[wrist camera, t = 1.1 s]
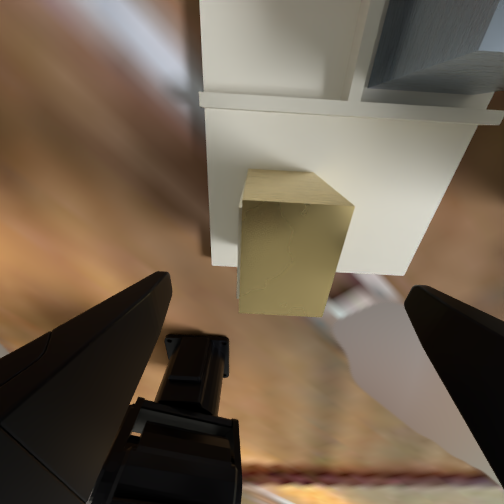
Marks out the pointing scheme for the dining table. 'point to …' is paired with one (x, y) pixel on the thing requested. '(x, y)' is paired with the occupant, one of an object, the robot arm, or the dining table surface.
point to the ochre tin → (288, 242)
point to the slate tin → (441, 47)
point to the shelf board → (326, 123)
